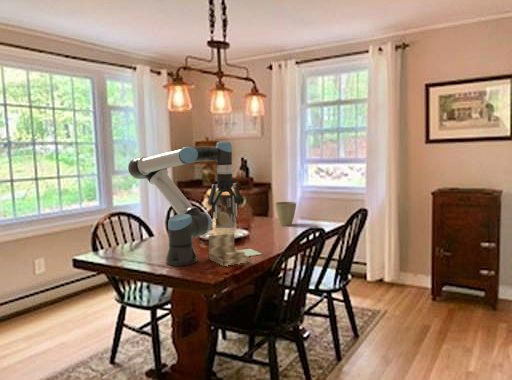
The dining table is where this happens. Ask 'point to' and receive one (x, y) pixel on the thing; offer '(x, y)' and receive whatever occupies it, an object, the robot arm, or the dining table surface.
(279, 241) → the dining table surface
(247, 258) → the rack
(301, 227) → the dining table surface
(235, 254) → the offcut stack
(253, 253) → the felt mat
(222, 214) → the coffee box
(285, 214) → the plant pot
